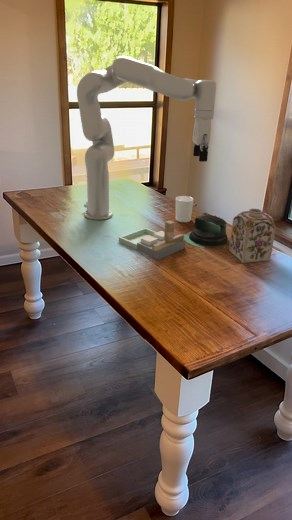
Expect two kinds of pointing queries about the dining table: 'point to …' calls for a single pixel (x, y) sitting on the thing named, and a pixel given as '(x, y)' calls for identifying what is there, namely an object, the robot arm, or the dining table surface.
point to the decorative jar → (252, 236)
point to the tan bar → (168, 237)
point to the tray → (135, 237)
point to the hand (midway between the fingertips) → (199, 158)
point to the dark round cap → (207, 232)
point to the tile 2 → (159, 235)
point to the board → (162, 252)
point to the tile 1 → (149, 240)
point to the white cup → (183, 208)
